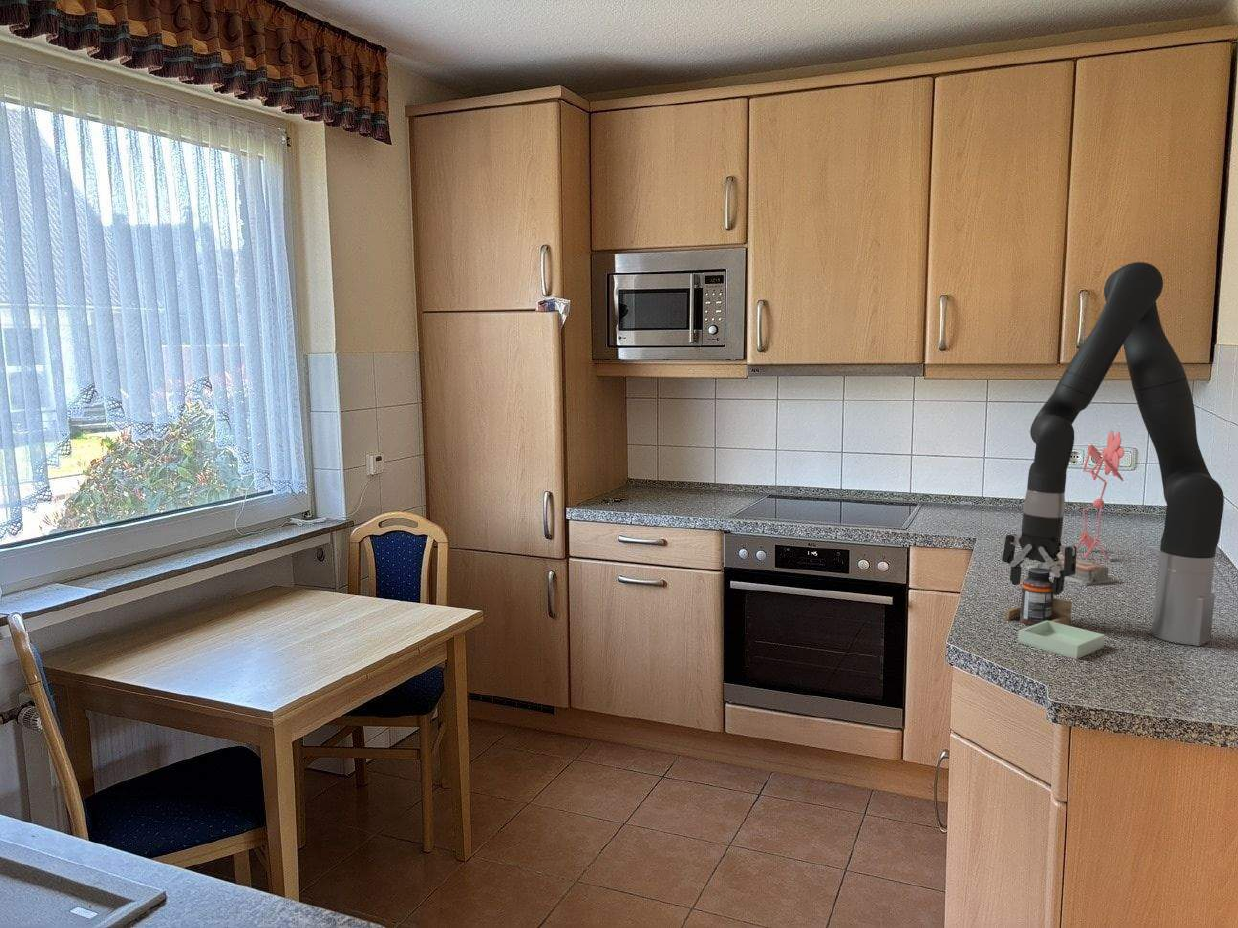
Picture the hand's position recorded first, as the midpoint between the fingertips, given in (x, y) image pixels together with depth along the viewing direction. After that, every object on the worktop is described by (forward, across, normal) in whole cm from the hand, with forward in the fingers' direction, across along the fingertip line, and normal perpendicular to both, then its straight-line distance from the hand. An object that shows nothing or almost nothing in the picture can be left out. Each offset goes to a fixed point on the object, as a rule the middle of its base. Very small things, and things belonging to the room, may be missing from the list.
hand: (1035, 589), depth 188 cm
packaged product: (+8, +15, -47) cm, 50 cm away
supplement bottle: (+7, -1, 0) cm, 7 cm away
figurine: (+7, +19, -77) cm, 80 cm away
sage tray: (+7, -11, +10) cm, 16 cm away
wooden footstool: (+7, -1, 0) cm, 7 cm away
